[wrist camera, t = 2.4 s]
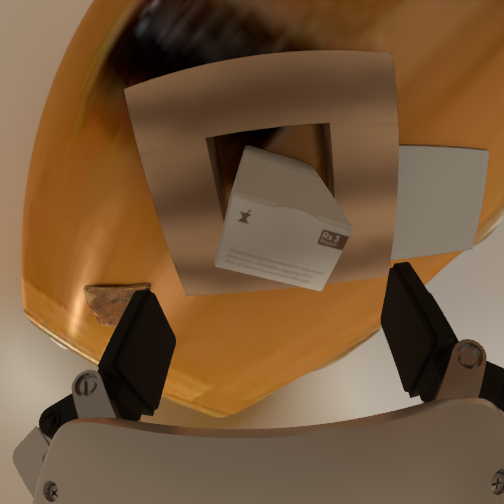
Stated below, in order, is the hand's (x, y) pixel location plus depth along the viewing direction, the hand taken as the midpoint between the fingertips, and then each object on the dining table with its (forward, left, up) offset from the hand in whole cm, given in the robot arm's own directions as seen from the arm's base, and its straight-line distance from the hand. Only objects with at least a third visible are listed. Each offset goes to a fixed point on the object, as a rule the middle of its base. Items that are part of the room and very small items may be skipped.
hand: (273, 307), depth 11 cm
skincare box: (0, 0, -16) cm, 16 cm away
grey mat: (+4, +17, -15) cm, 23 cm away
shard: (+12, -22, -16) cm, 29 cm away
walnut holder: (0, 0, -15) cm, 15 cm away
